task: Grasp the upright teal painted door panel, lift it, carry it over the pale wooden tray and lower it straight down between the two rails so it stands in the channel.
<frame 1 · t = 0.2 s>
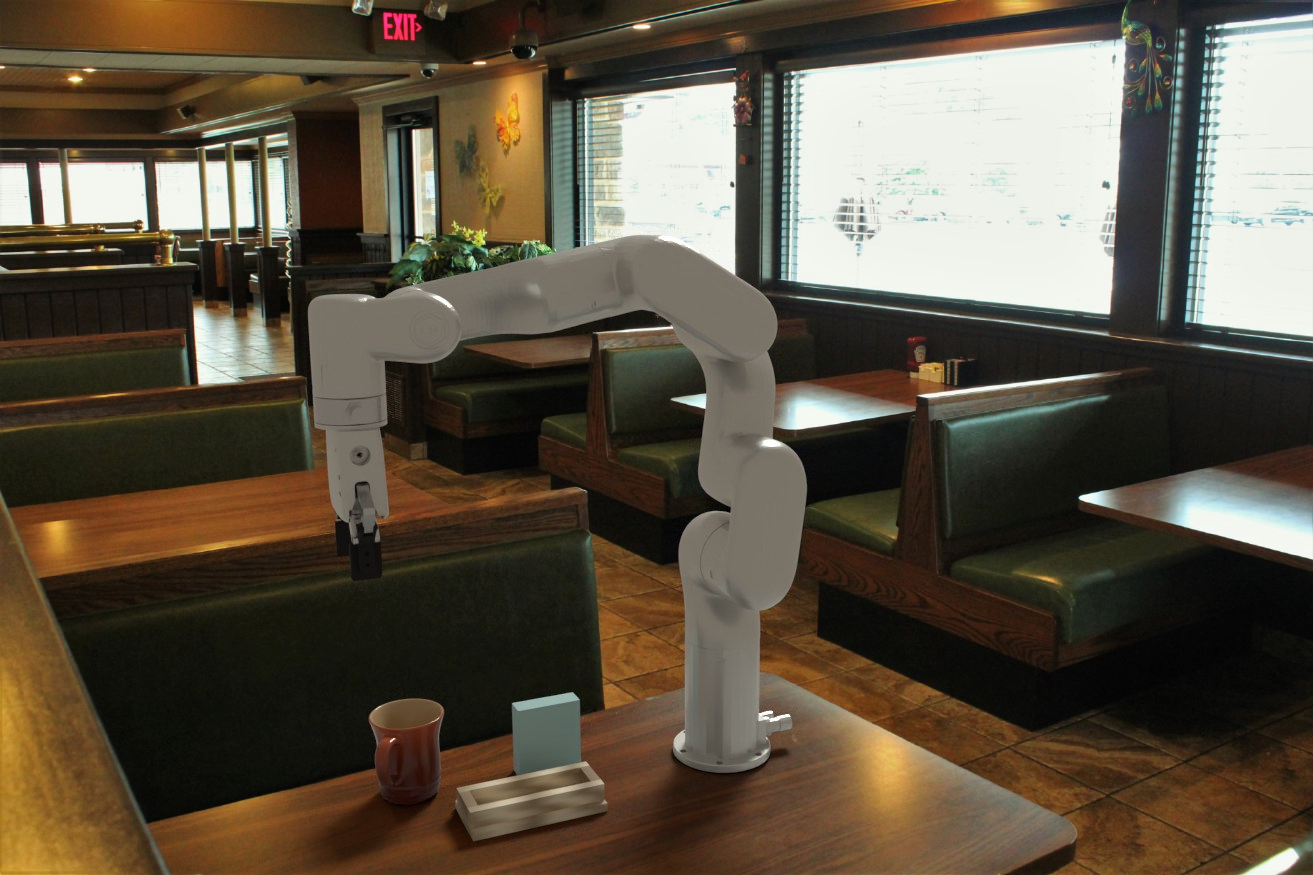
hand: (358, 566, 123), 31 cm above the table, fingers open, 9 cm apart
door panel: (547, 768, 142), on the table
pale wooden tray: (531, 809, 132), on the table
mug: (405, 801, 135), on the table
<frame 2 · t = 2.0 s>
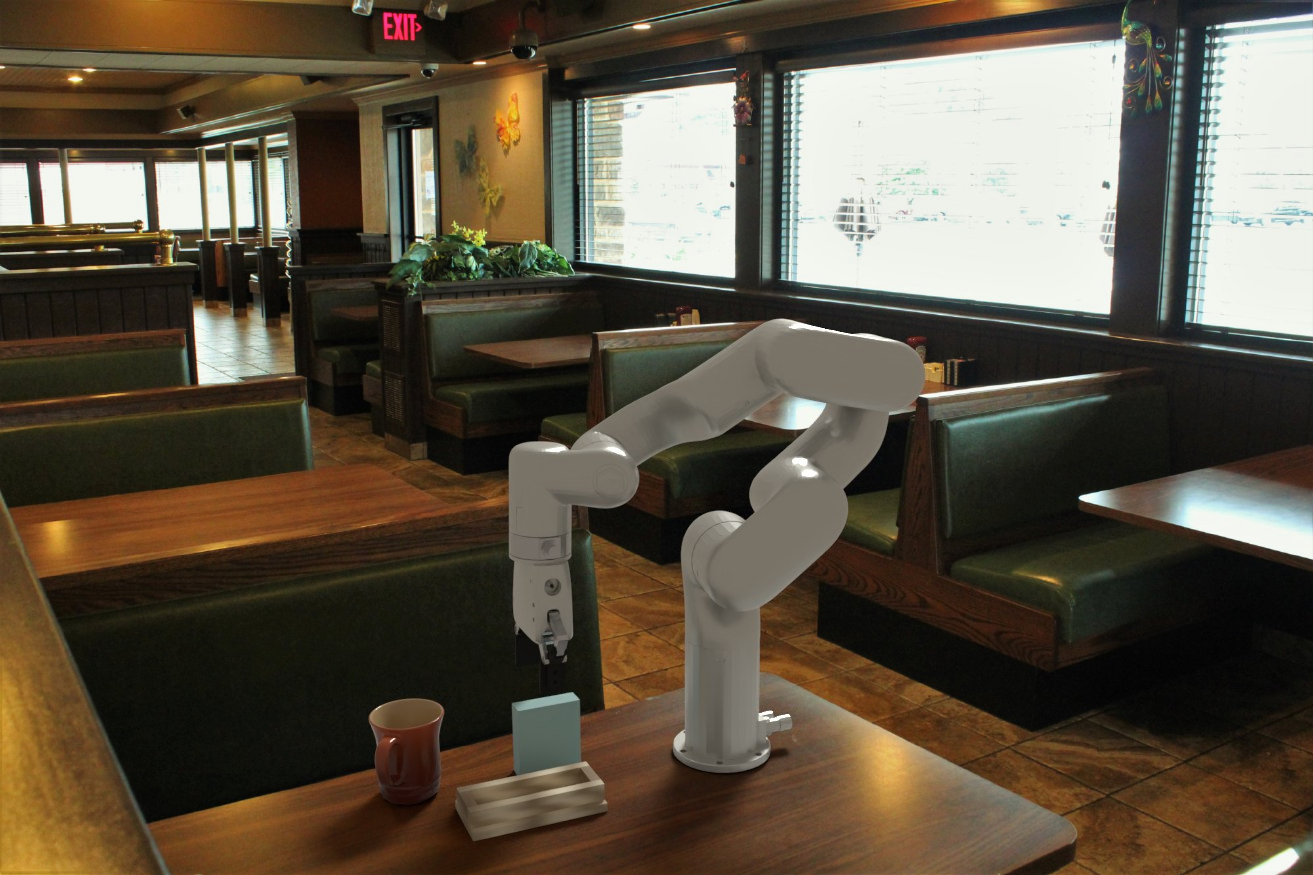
hand: (539, 678, 140), 12 cm above the table, fingers open, 9 cm apart
nothing on the table moved.
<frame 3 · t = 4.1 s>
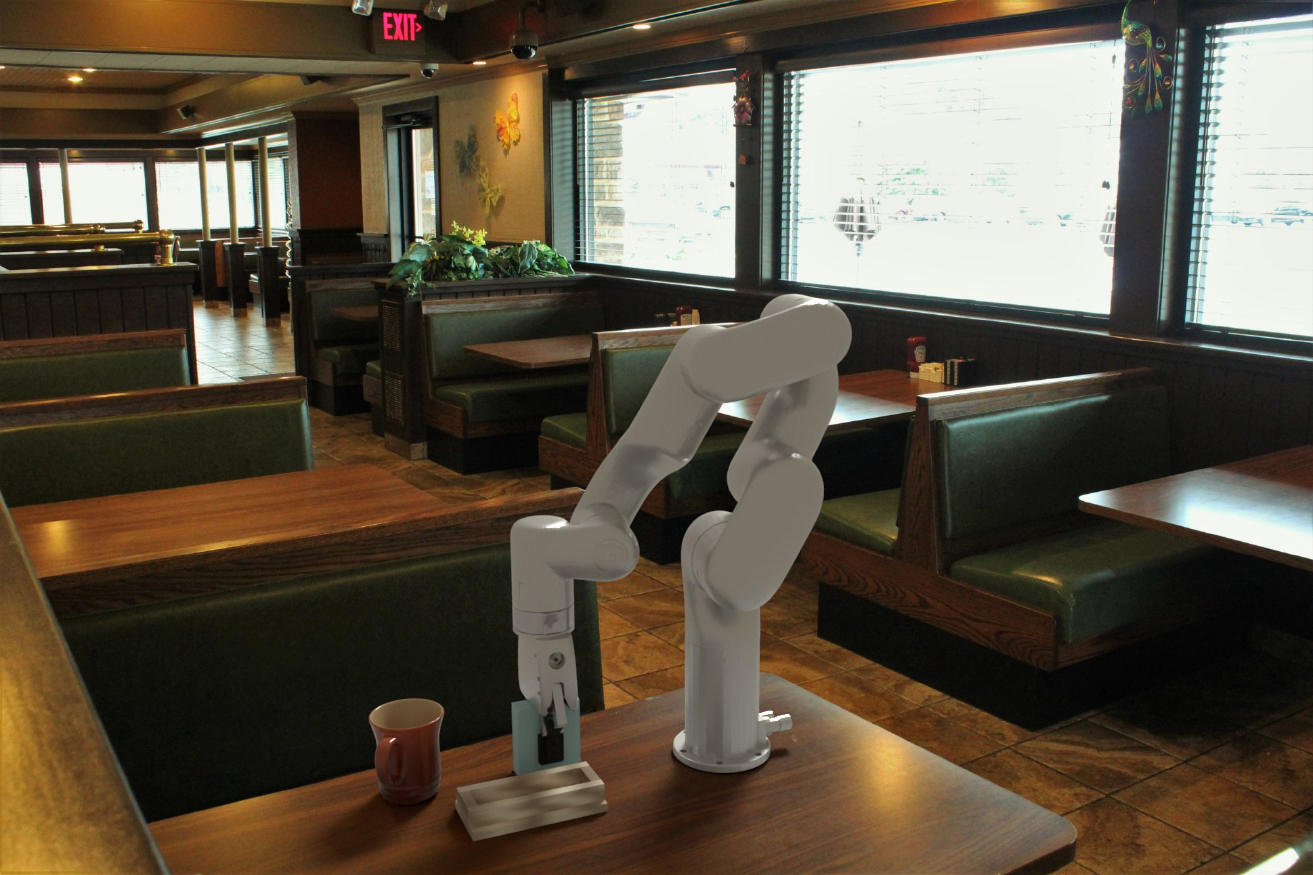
hand: (546, 755, 142), 2 cm above the table, fingers closed on door panel, 2 cm apart
door panel: (547, 768, 142), on the table, touching gripper
everything else where it was.
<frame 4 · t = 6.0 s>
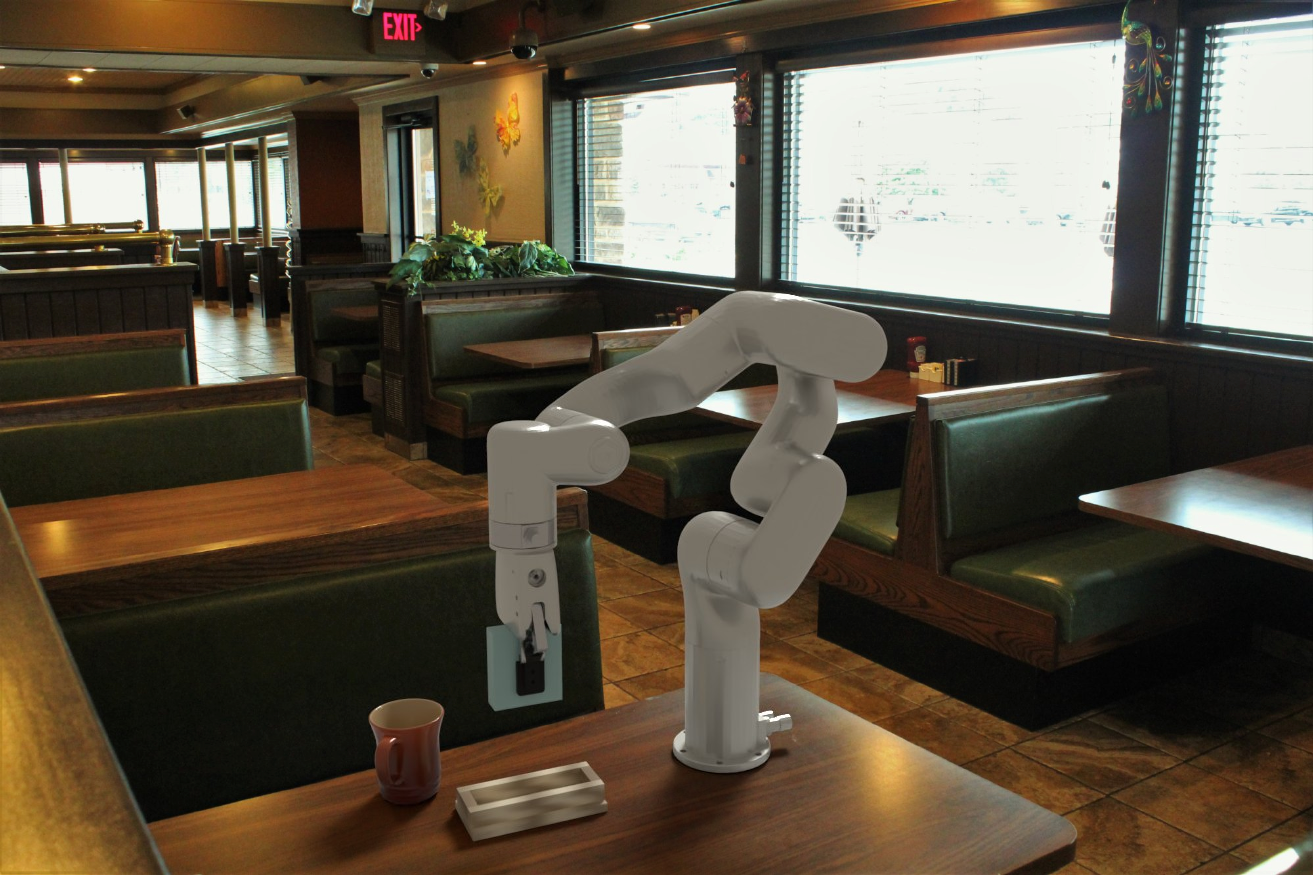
hand: (526, 686, 129), 15 cm above the table, fingers closed on door panel, 2 cm apart
door panel: (525, 700, 130), point 14 cm above the table, touching gripper
everything else where it was.
when the fingers open (4 cm above the table, at t = 8.1 s): door panel stays where it is, resting on pale wooden tray.
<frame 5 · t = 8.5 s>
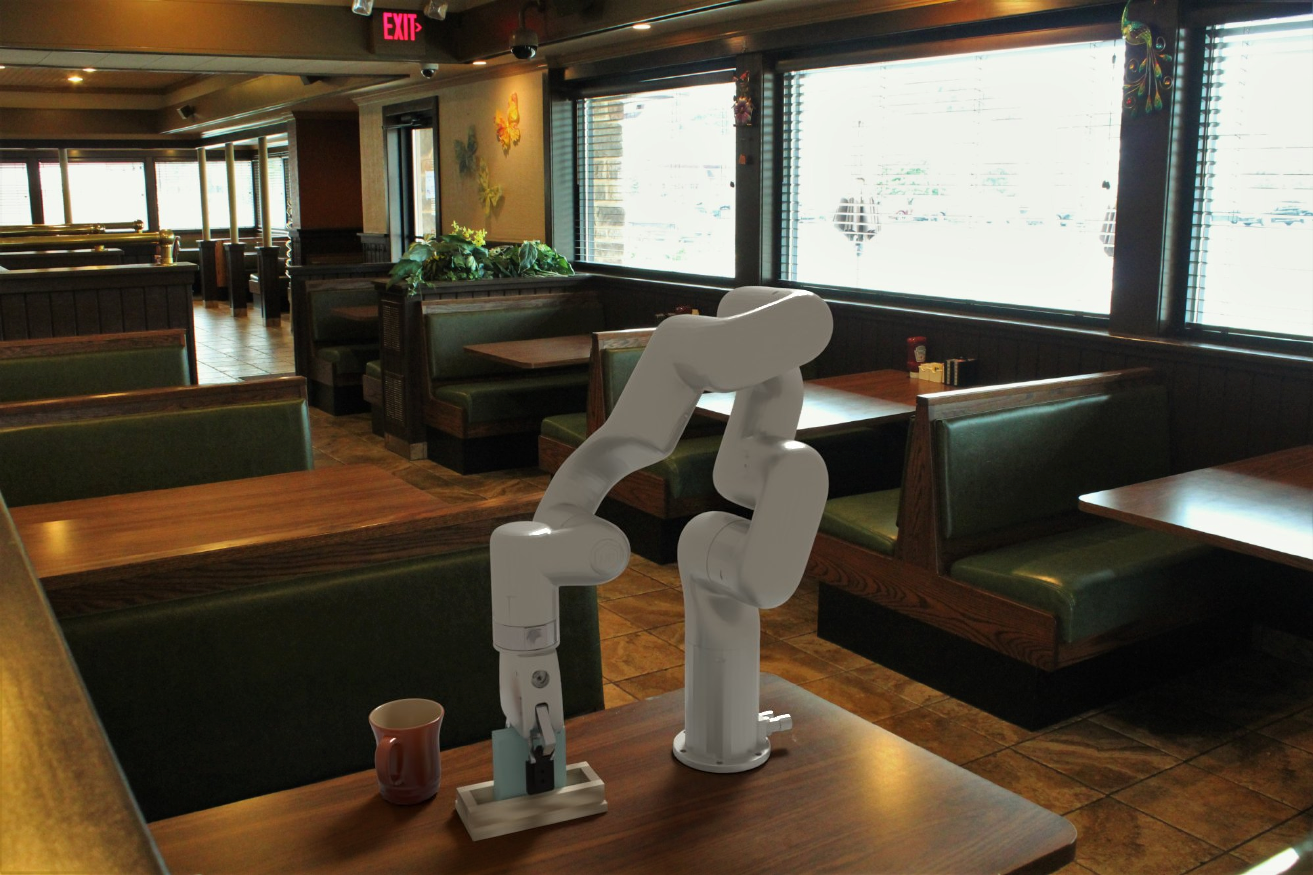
hand: (530, 776, 132), 4 cm above the table, fingers open, 6 cm apart
door panel: (530, 801, 132), point 1 cm above the table, touching pale wooden tray
everything else where it was.
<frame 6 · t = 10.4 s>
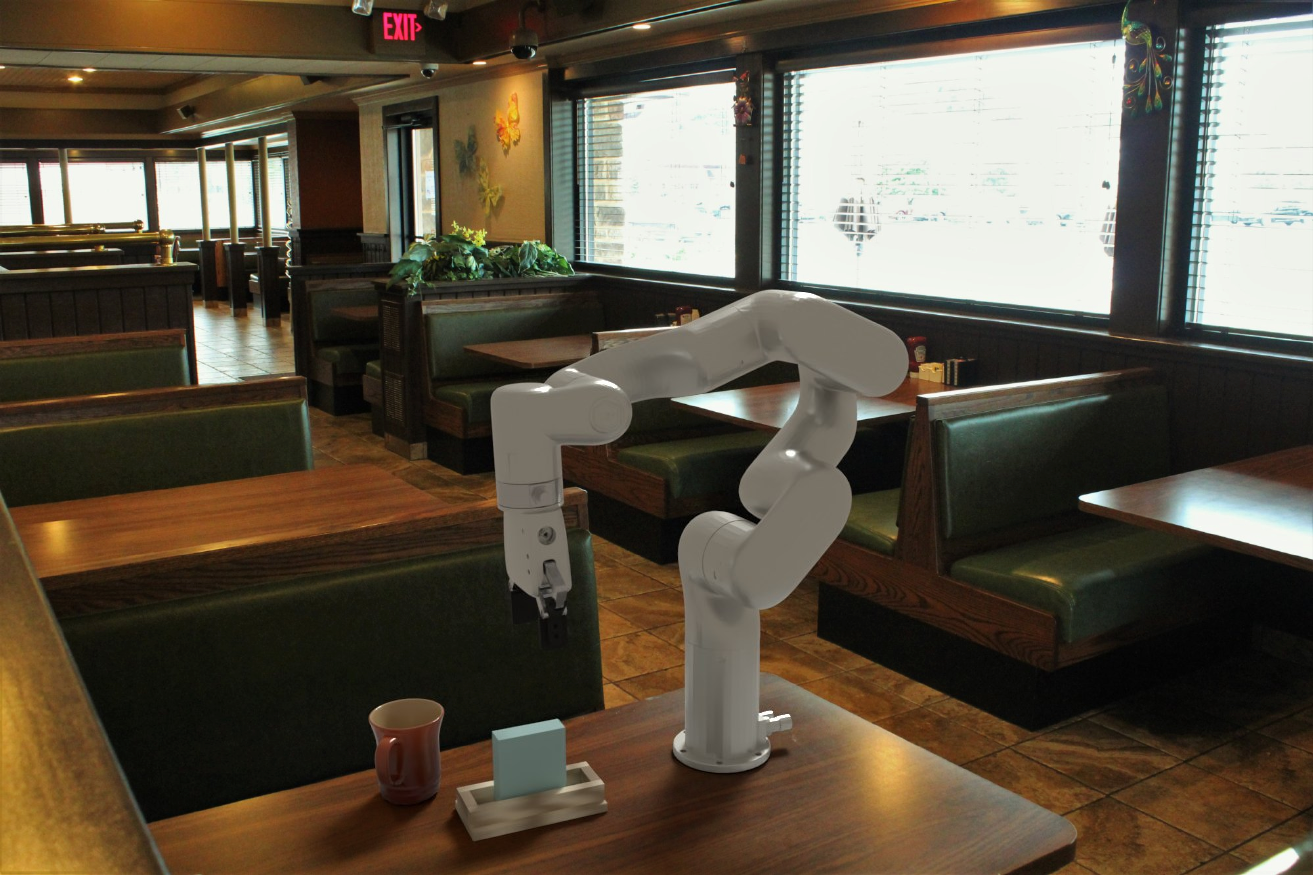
hand: (539, 634, 132), 20 cm above the table, fingers open, 9 cm apart
nothing on the table moved.
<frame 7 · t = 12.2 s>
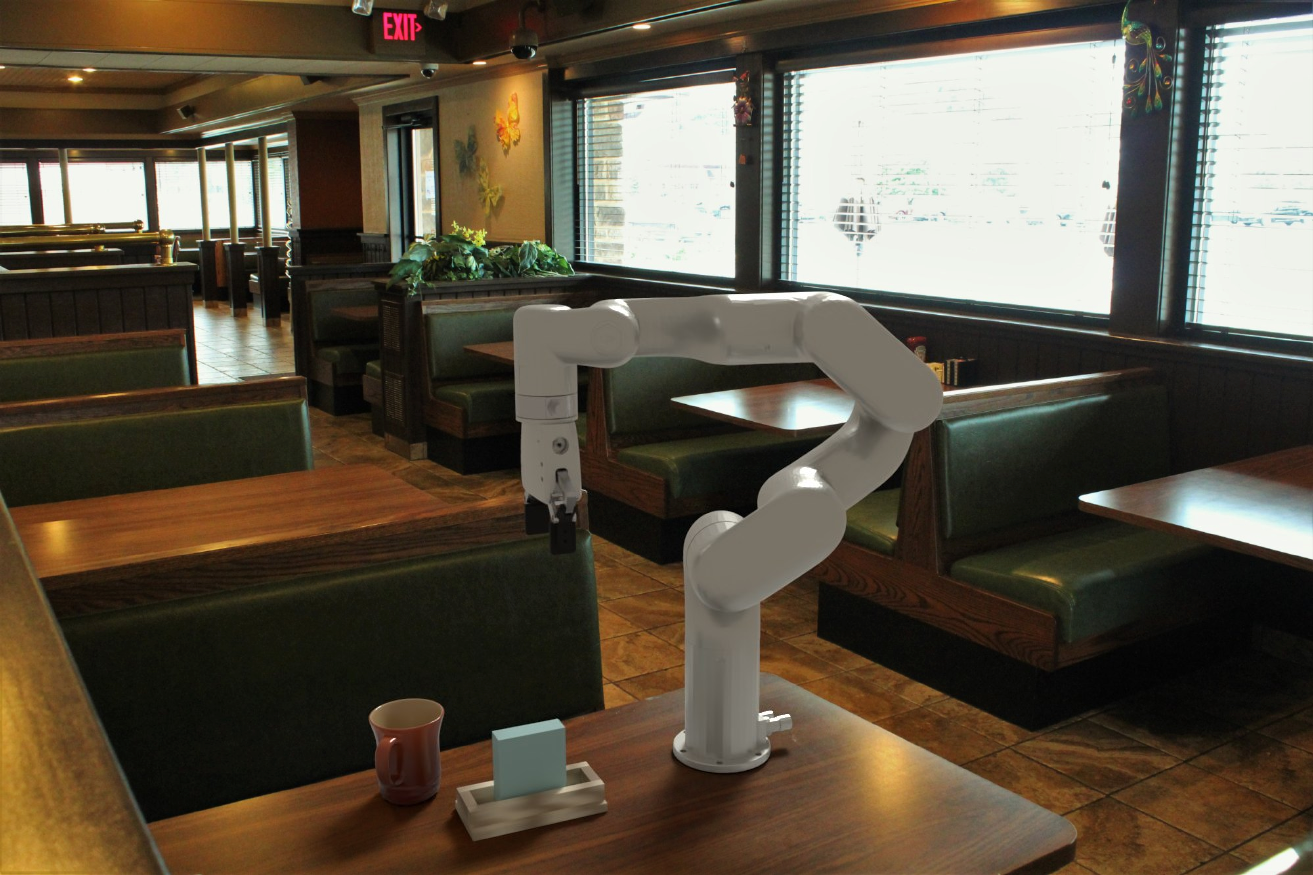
hand: (549, 543, 141), 28 cm above the table, fingers open, 9 cm apart
nothing on the table moved.
at the end: door panel 0.1 cm off-centre on the pale wooden tray, point 1.0 cm above the pale wooden tray's base; door panel tilted 0°; the gripper is holding nothing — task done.
